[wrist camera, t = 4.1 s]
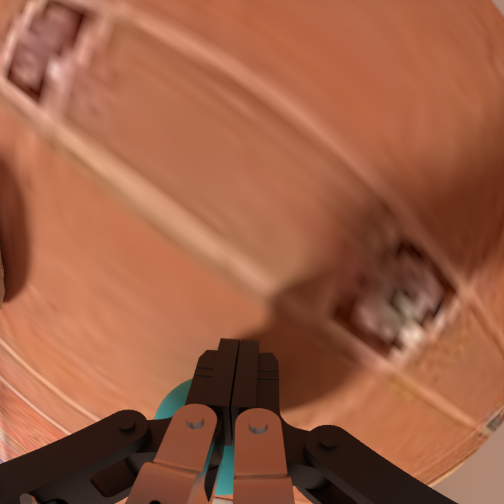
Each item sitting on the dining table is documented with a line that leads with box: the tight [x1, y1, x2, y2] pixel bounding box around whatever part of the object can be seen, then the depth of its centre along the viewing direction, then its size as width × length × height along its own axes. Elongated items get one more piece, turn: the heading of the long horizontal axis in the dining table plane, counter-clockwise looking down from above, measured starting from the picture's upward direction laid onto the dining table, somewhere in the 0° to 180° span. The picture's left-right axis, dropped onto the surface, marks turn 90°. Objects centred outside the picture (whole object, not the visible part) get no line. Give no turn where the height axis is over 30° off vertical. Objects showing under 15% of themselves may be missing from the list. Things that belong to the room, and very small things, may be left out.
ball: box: [154, 379, 235, 495], centre depth 12 cm, size 6×6×6 cm
